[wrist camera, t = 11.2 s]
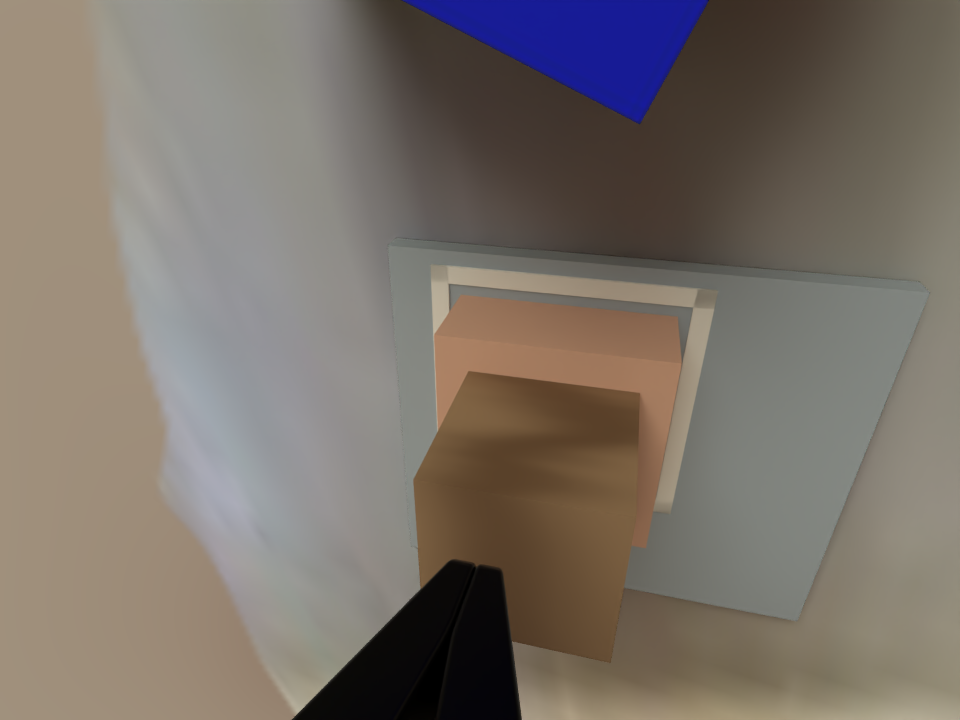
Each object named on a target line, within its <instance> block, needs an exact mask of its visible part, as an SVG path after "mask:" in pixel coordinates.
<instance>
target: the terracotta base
mask: <svg viewBox="0 0 960 720" xmlns="http://www.w3.org/2000/svg"><path fill="white" fill-rule="evenodd" d="M434 348H435V372H436V397H437V421H438V430H439V428H440V426H441V424H442V422H443V420H444V418H445V416H446V414H447V412H448V410H449V408H450V406H451V404H452V402H453V400H454V398H455V396H456V394H457V393H458V391H459V389H460V387H461V385H462V383H463V381H464V379H465V377H466V375H467V373H468V371H473V372H480V373H488V374H496V375H504V376H512V377H519V378H527V379H535V380H543V381H551V382H558V383H566V384H574V385H582V386H590V387H597V388H605V389H613V390H621V391H629V392H636V393H640V408H639V444H638V479H637V515H636V523H635V528H634V534H633V540H632V545H631V546H636V547H641V548H646V545H647V540H648V535H649V530H650V525H651V520H652V515H653V509H654V504H655V499H656V494H657V489H658V484H659V479H660V474H661V468H662V463H663V458H664V453H665V448H666V443H667V438H668V432H669V427H670V422H671V417H672V412H673V407H674V402H675V397H676V391H677V386H678V381H679V376H680V371H681V366H682V359H681V348H680V337H679V326H678V317H676V316H666V315H657V314H647V313H637V312H627V311H617V310H607V309H597V308H587V307H578V306H568V305H558V304H548V303H538V302H528V301H518V300H509V299H499V298H489V297H479V296H469V295H460V297H459V298H458V300H457V301H456V303H455V304H454V306H453V307H452V309H451V310H450V312H449V313H448V315H447V316H446V318H445V319H444V321H443V322H442V324H441V325H440V327H439V328H438V330H437V331H436V333H435V334H434Z"/></svg>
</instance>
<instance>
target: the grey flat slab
mask: <svg viewBox="0 0 960 720" xmlns="http://www.w3.org/2000/svg"><path fill="white" fill-rule="evenodd" d="M388 258H389V271H390V284H391V296H392V309H393V322H394V335H395V348H396V361H397V374H398V387H399V400H400V413H401V425H402V438H403V451H404V464H405V477H406V490H407V503H408V516H409V529H410V542H411V547H415V548H418V543H417V529H416V514H415V500H414V485H413V479H414V477H415V475H416V473H417V471H418V469H419V467H420V465H421V463H422V461H423V459H424V457H425V455H426V453H427V452H428V450H429V448H430V446H431V444H432V442H433V440H434V438H435V436H436V434H437V432H438V421H437V397H436V372H435V348H434V334H435V333H436V331H437V330H438V328H439V327H440V325H441V324H442V322H443V321H444V319H445V318H446V316H447V315H448V313H449V312H450V310H451V309H452V307H453V306H454V304H455V303H456V301H457V300H458V298H459V297H460V295H469V296H479V297H489V298H499V299H509V300H518V301H528V302H538V303H548V304H558V305H568V306H578V307H587V308H597V309H607V310H617V311H627V312H637V313H647V314H657V315H666V316H676V317H678V326H679V337H680V348H681V359H682V366H681V371H680V376H679V381H678V386H677V391H676V397H675V402H674V407H673V412H672V417H671V422H670V427H669V432H668V438H667V443H666V448H665V453H664V458H663V463H662V468H661V474H660V479H659V484H658V489H657V494H656V499H655V504H654V509H653V515H652V520H651V525H650V530H649V535H648V540H647V545H646V548H641V547H636V546H631V551H630V557H629V562H628V568H627V573H626V579H625V585H624V588H627V589H632V590H637V591H643V592H648V593H653V594H658V595H663V596H669V597H674V598H679V599H684V600H689V601H694V602H700V603H705V604H710V605H715V606H720V607H725V608H731V609H736V610H741V611H746V612H751V613H756V614H762V615H767V616H772V617H777V618H782V619H787V620H793V621H797V620H798V618H799V615H800V613H801V611H802V608H803V606H804V603H805V601H806V598H807V596H808V593H809V591H810V588H811V586H812V583H813V581H814V578H815V576H816V573H817V571H818V569H819V566H820V564H821V561H822V559H823V556H824V554H825V551H826V549H827V546H828V544H829V541H830V539H831V536H832V534H833V531H834V529H835V527H836V524H837V522H838V519H839V517H840V514H841V512H842V509H843V507H844V504H845V502H846V499H847V497H848V494H849V492H850V489H851V487H852V484H853V482H854V480H855V477H856V475H857V472H858V470H859V467H860V465H861V462H862V460H863V457H864V455H865V452H866V450H867V447H868V445H869V442H870V440H871V438H872V435H873V433H874V430H875V428H876V425H877V423H878V420H879V418H880V415H881V413H882V410H883V408H884V405H885V403H886V400H887V398H888V395H889V393H890V391H891V388H892V386H893V383H894V381H895V378H896V376H897V373H898V371H899V368H900V366H901V363H902V361H903V358H904V356H905V353H906V351H907V349H908V346H909V344H910V341H911V339H912V336H913V334H914V331H915V329H916V326H917V324H918V321H919V319H920V316H921V314H922V311H923V309H924V306H925V304H926V302H927V299H928V297H929V294H930V292H929V291H928V290H927V289H926V288H925V287H924V286H923V285H922V284H921V283H920V282H917V281H905V280H893V279H881V278H869V277H857V276H845V275H833V274H821V273H809V272H797V271H785V270H773V269H761V268H749V267H737V266H725V265H713V264H701V263H689V262H677V261H665V260H653V259H641V258H629V257H617V256H605V255H593V254H581V253H569V252H557V251H545V250H533V249H521V248H510V247H498V246H486V245H474V244H462V243H450V242H438V241H426V240H414V239H402V238H396V239H394V240H393V241H392V242H391V243H390V244H389V245H388Z"/></svg>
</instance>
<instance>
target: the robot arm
mask: <svg viewBox="0 0 960 720" xmlns="http://www.w3.org/2000/svg"><path fill="white" fill-rule="evenodd" d="M292 720H522V717H521V709H520V701H519V693H518V685H517V678H516V670H515V662H514V654H513V646H512V638H511V630H510V622H509V614H508V606H507V598H506V590H505V582H504V575H503V571H502V569H501V568H499V567H494V566H489V565H484V564H479V565H478V566H477V567H476V565H475V564H474V563H473V562H469V561H464V560H458V559H452V560H449V561H448V562H447V563H446V564H445V565H444V566H443V567H442V568H441V569H440V570H439V571H438V572H437V573H436V574H435V575H434V576H433V577H432V578H431V579H430V580H429V581H428V582H427V583H426V584H425V585H424V586H423V587H422V588H421V589H420V590H419V591H418V592H417V593H416V594H415V595H414V596H413V597H412V598H411V599H410V600H409V601H408V602H407V603H406V604H405V605H404V607H403V608H402V609H401V610H400V611H399V612H398V613H397V614H396V615H395V616H394V617H393V618H392V619H391V620H390V621H389V622H388V623H387V624H386V625H385V626H384V627H383V628H382V629H381V630H380V631H379V632H378V633H377V634H376V635H375V636H374V637H373V638H372V639H371V640H370V641H369V642H368V643H367V644H366V645H365V646H364V647H363V648H362V649H361V650H360V651H359V652H358V653H357V654H356V655H355V656H354V657H353V658H352V659H351V660H350V661H349V662H348V663H347V664H346V665H345V666H344V667H343V668H342V669H341V670H340V671H339V672H338V673H337V674H336V675H335V676H334V677H333V678H332V679H331V680H330V681H329V682H328V684H327V685H326V686H325V687H324V688H323V689H322V690H321V691H320V692H319V693H318V694H317V695H316V696H315V697H314V698H313V699H312V700H311V701H310V702H309V703H308V704H307V705H306V706H305V707H304V708H303V709H302V710H301V711H300V712H299V713H298V714H297V715H296V716H295V717H294V718H293V719H292Z"/></svg>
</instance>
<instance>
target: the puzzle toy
mask: <svg viewBox="0 0 960 720" xmlns="http://www.w3.org/2000/svg"><path fill="white" fill-rule="evenodd" d="M402 1H404V2H406V3H408V4H410V5H412V6H414V7H416V8H417V9H419V10H421V11H423V12H425V13H427V14H429V15H431V16H433V17H435V18H437V19H439V20H441V21H442V22H444V23H446V24H448V25H450V26H452V27H454V28H456V29H458V30H460V31H462V32H464V33H465V34H467V35H469V36H471V37H473V38H475V39H477V40H479V41H481V42H483V43H485V44H487V45H489V46H490V47H492V48H494V49H496V50H498V51H500V52H502V53H504V54H506V55H508V56H510V57H512V58H513V59H515V60H517V61H519V62H521V63H523V64H525V65H527V66H529V67H531V68H533V69H535V70H536V71H538V72H540V73H542V74H544V75H546V76H548V77H550V78H552V79H554V80H556V81H558V82H560V83H561V84H563V85H565V86H567V87H569V88H571V89H573V90H575V91H577V92H579V93H581V94H583V95H584V96H586V97H588V98H590V99H592V100H594V101H596V102H598V103H600V104H602V105H604V106H606V107H607V108H609V109H611V110H613V111H615V112H617V113H619V114H621V115H623V116H625V117H627V118H629V119H631V120H632V121H634V122H636V123H638V124H640V123H641V121H642V120H643V118H644V116H645V114H646V112H647V111H648V109H649V107H650V105H651V104H652V102H653V100H654V98H655V96H656V95H657V93H658V91H659V89H660V87H661V86H662V84H663V82H664V80H665V78H666V77H667V75H668V73H669V71H670V69H671V68H672V66H673V64H674V62H675V60H676V59H677V57H678V55H679V53H680V52H681V50H682V48H683V46H684V44H685V43H686V41H687V39H688V37H689V35H690V34H691V32H692V30H693V28H694V26H695V25H696V23H697V21H698V19H699V17H700V16H701V14H702V12H703V10H704V9H705V7H706V5H707V3H708V1H709V0H402Z"/></svg>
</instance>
